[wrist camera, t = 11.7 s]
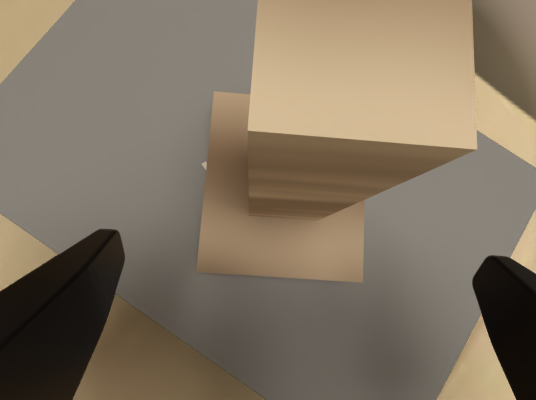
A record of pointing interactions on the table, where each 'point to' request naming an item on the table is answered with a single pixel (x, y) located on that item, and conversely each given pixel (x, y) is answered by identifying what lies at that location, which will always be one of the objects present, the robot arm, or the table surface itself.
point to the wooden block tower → (332, 130)
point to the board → (191, 203)
